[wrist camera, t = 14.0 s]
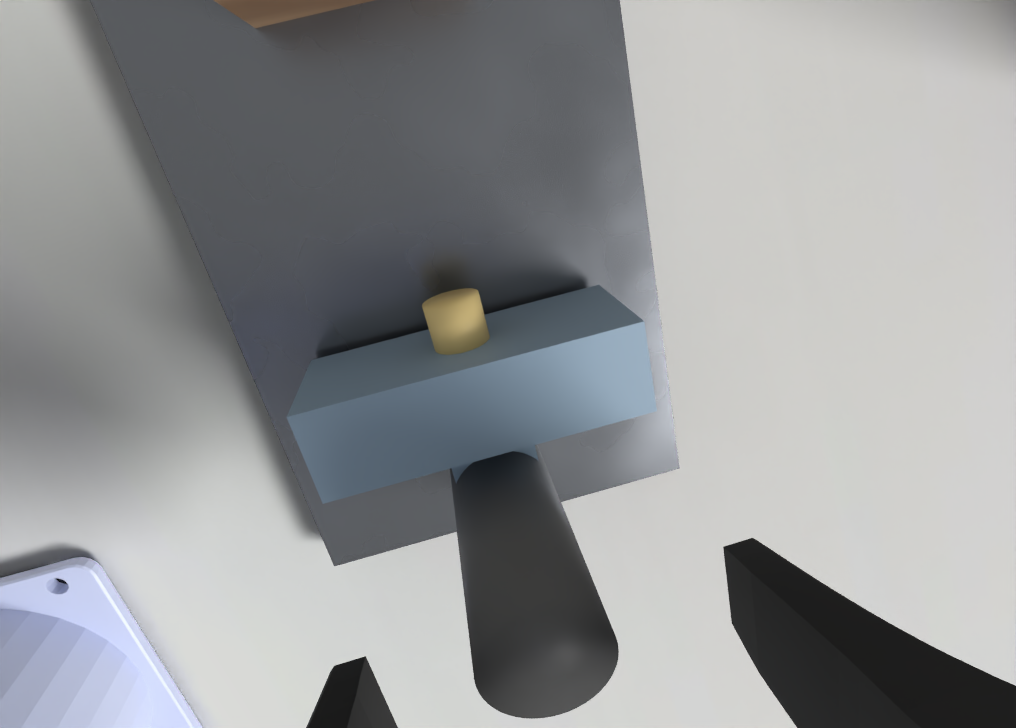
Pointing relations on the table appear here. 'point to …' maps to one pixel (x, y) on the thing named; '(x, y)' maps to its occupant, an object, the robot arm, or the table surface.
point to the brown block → (281, 9)
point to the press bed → (402, 197)
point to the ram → (492, 466)
